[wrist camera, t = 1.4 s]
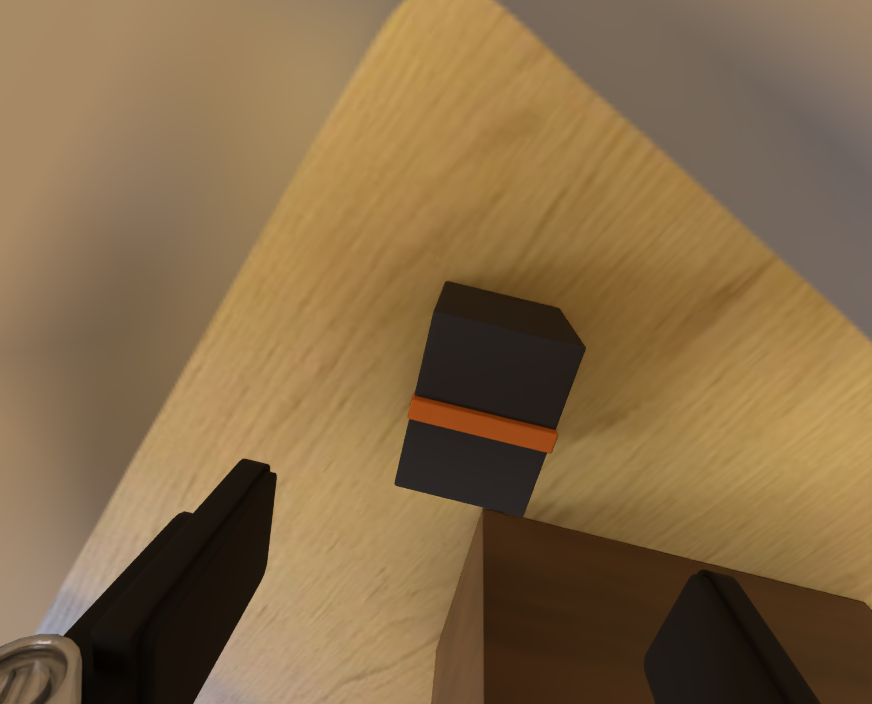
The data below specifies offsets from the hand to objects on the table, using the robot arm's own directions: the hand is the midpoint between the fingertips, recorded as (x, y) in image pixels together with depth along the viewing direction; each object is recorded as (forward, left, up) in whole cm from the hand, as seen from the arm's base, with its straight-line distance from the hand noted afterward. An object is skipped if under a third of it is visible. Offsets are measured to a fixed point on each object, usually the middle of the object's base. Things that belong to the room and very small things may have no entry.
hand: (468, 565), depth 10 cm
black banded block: (0, 0, -11) cm, 11 cm away
